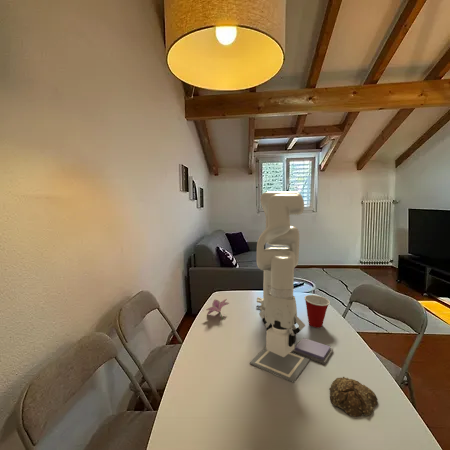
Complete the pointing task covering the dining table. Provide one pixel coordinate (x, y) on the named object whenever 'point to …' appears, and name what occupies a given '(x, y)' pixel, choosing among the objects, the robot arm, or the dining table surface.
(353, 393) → the bread roll
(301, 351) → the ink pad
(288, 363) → the marked mat
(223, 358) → the dining table surface
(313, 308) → the plastic cup
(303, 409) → the dining table surface
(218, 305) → the lily
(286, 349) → the medicine bottle
